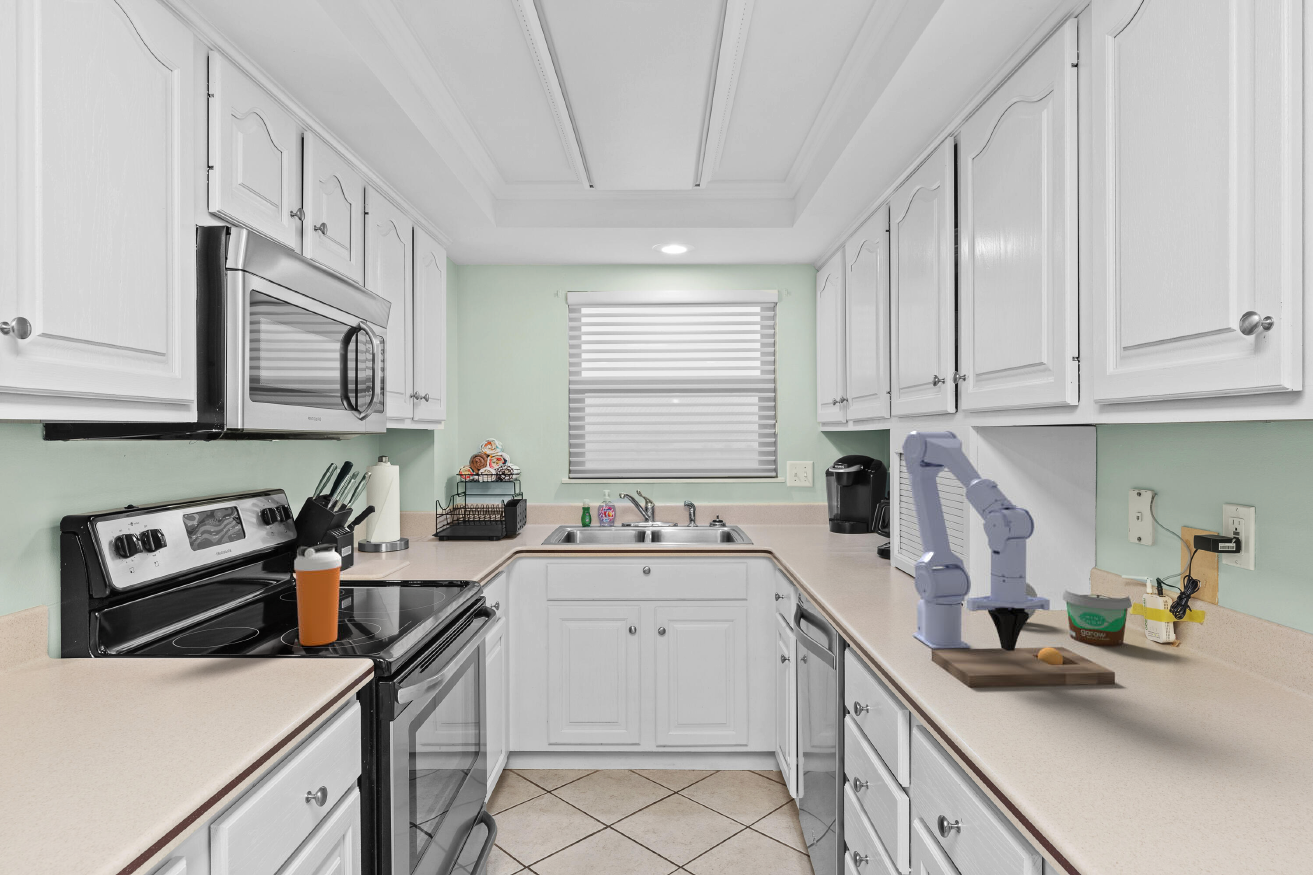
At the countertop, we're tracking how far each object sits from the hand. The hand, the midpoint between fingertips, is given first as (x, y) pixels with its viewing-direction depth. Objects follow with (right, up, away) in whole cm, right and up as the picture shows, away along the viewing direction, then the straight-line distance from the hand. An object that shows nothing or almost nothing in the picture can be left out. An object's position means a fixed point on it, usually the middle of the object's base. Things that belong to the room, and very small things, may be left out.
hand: (1007, 649), depth 124 cm
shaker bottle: (-135, -4, +19) cm, 137 cm away
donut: (+18, -4, +32) cm, 37 cm away
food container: (+27, -4, +16) cm, 32 cm away
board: (+2, -4, 0) cm, 5 cm away
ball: (+8, -2, +1) cm, 9 cm away
